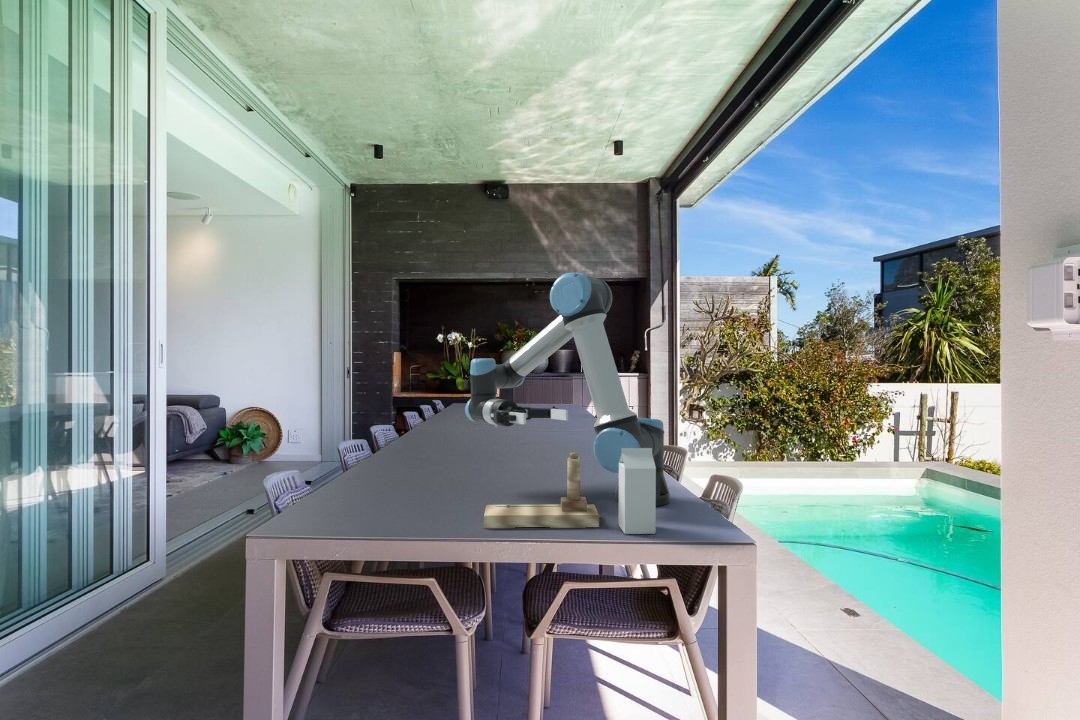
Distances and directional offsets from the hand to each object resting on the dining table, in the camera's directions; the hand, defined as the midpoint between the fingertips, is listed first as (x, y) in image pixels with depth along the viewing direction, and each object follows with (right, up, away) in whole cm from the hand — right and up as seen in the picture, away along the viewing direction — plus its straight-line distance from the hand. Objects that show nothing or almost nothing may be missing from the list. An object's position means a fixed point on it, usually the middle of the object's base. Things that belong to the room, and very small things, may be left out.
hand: (546, 417), depth 152 cm
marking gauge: (+7, -22, -8) cm, 24 cm away
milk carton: (+21, -25, -15) cm, 36 cm away
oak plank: (-1, -25, -8) cm, 26 cm away
